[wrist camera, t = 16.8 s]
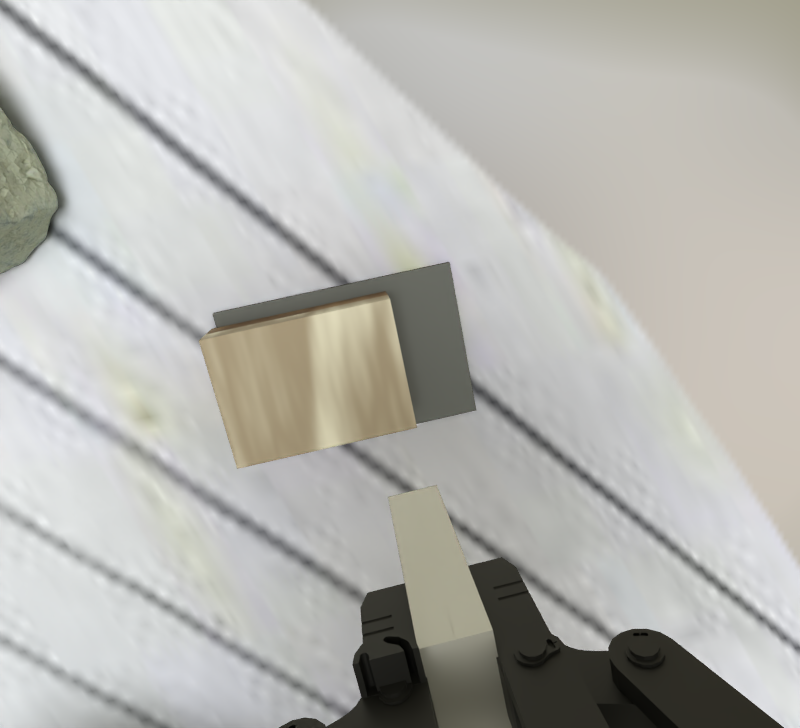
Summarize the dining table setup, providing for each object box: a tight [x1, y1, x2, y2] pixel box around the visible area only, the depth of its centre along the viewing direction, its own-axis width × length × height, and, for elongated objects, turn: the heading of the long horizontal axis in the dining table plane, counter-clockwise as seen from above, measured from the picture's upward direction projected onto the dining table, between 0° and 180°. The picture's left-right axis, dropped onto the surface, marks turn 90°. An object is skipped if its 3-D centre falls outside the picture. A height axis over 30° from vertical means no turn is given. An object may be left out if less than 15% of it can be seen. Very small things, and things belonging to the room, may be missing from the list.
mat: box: [213, 262, 476, 424], centre depth 38 cm, size 15×10×1 cm, turn 101°
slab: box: [199, 291, 417, 469], centre depth 36 cm, size 4×8×11 cm
